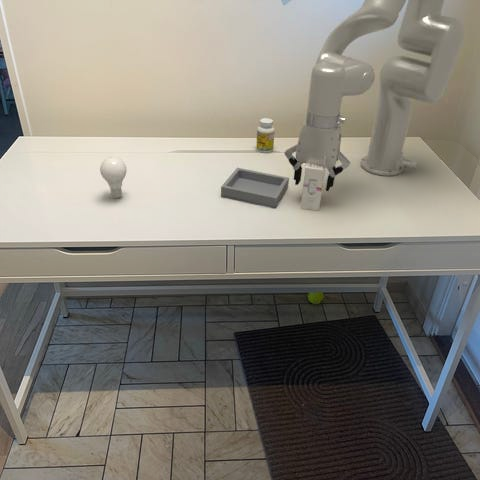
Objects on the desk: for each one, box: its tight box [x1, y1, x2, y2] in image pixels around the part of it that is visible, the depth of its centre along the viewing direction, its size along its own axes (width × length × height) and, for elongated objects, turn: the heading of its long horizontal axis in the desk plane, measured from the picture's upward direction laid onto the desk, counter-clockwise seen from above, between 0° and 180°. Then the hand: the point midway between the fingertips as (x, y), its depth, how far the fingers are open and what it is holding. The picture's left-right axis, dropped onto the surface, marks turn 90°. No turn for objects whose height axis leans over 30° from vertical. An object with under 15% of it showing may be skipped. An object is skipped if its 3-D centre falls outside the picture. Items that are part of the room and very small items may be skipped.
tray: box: [220, 167, 290, 209], centre depth 126 cm, size 15×12×3 cm
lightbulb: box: [99, 156, 128, 199], centre depth 119 cm, size 6×6×11 cm
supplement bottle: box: [256, 117, 276, 154], centre depth 147 cm, size 5×5×10 cm
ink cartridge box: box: [300, 156, 326, 211], centre depth 119 cm, size 9×5×15 cm, turn 168°
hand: (312, 185), depth 121 cm, fingers open, 7 cm apart
